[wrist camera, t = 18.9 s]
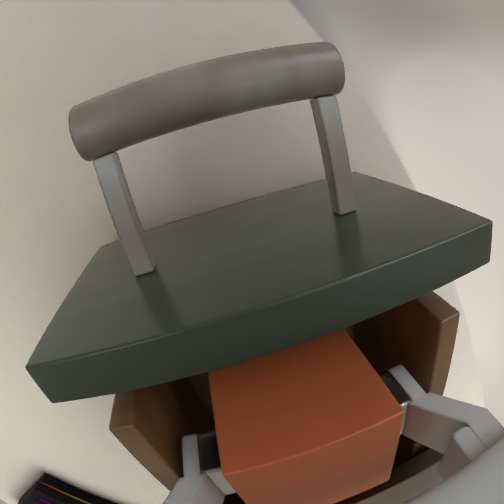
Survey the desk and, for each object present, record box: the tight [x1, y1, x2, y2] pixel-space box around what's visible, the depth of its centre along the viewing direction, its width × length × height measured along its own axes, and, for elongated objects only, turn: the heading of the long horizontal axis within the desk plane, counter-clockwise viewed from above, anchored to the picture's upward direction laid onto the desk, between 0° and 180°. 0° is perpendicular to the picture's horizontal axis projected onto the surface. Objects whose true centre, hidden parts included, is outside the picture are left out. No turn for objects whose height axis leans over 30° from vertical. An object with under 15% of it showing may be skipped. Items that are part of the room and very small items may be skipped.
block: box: [208, 328, 404, 504], centre depth 9 cm, size 4×4×4 cm
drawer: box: [26, 42, 492, 504], centre depth 11 cm, size 19×12×8 cm, turn 14°
